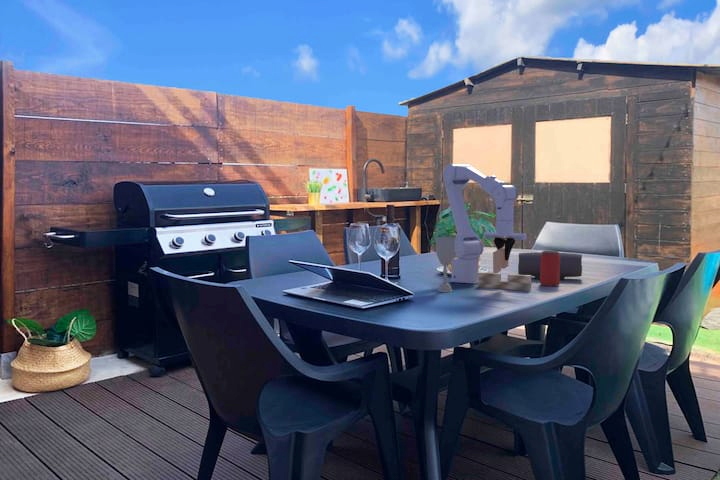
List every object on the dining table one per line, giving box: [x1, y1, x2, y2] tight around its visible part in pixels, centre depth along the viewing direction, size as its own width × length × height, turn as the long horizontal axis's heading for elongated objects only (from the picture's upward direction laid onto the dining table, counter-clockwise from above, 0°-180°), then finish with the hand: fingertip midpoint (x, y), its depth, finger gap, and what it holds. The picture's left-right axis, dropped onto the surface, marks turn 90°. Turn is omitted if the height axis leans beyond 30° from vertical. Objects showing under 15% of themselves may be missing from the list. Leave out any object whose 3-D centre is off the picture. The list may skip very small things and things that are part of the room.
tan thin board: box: [492, 245, 509, 273], centre depth 207 cm, size 1×12×7 cm, turn 148°
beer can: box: [539, 250, 561, 287], centre depth 216 cm, size 7×7×12 cm
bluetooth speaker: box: [517, 251, 583, 280], centre depth 232 cm, size 23×9×10 cm, turn 73°
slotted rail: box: [477, 271, 532, 292], centre depth 211 cm, size 18×2×5 cm, turn 59°
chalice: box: [434, 236, 456, 293], centre depth 206 cm, size 7×7×18 cm
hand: (504, 260), depth 210 cm, fingers closed on tan thin board, 1 cm apart
